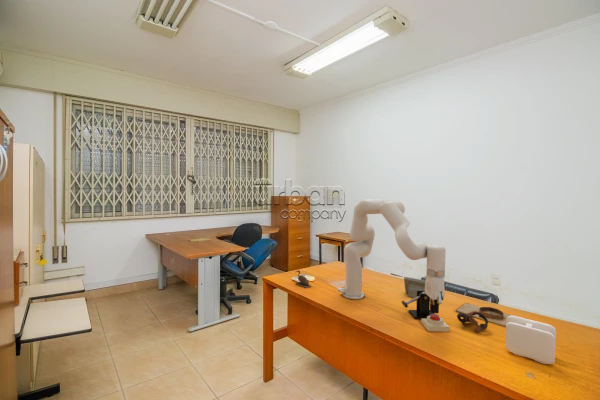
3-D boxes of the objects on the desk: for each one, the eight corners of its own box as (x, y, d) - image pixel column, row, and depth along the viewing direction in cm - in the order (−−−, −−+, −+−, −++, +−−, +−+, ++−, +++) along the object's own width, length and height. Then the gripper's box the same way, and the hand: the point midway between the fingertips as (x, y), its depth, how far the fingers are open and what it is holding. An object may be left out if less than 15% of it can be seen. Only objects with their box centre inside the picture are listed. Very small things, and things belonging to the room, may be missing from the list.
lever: (406, 309, 137) (404, 304, 137) (402, 304, 142) (400, 300, 142) (428, 298, 137) (426, 294, 137) (424, 294, 142) (422, 290, 142)
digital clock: (435, 298, 162) (435, 280, 162) (427, 302, 156) (427, 283, 156) (409, 291, 174) (409, 274, 174) (401, 294, 169) (401, 276, 168)
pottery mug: (478, 323, 132) (487, 312, 128) (483, 341, 124) (493, 330, 120) (452, 315, 134) (459, 303, 130) (455, 332, 126) (463, 320, 122)
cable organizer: (502, 351, 109) (503, 321, 108) (507, 340, 116) (507, 313, 116) (554, 368, 98) (555, 335, 98) (556, 355, 106) (557, 325, 105)
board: (523, 319, 135) (523, 313, 135) (515, 330, 125) (516, 322, 125) (466, 304, 154) (466, 298, 154) (455, 312, 144) (455, 305, 144)
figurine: (292, 282, 190) (292, 269, 190) (297, 281, 193) (297, 268, 192) (305, 288, 179) (305, 274, 179) (310, 286, 182) (311, 273, 182)
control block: (428, 331, 124) (428, 322, 124) (421, 322, 132) (421, 314, 132) (449, 331, 124) (449, 322, 124) (440, 323, 132) (440, 314, 132)
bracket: (414, 319, 136) (415, 294, 136) (408, 311, 144) (409, 289, 144) (437, 319, 136) (438, 295, 135) (430, 312, 144) (430, 289, 143)
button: (432, 321, 126) (432, 317, 126) (429, 317, 129) (429, 313, 129) (440, 321, 126) (440, 317, 126) (437, 317, 129) (437, 313, 129)
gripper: (420, 267, 135) (419, 305, 135) (434, 277, 120) (433, 319, 120) (436, 268, 134) (435, 305, 135) (452, 278, 120) (451, 320, 120)
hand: (434, 312), depth 128 cm, fingers closed
